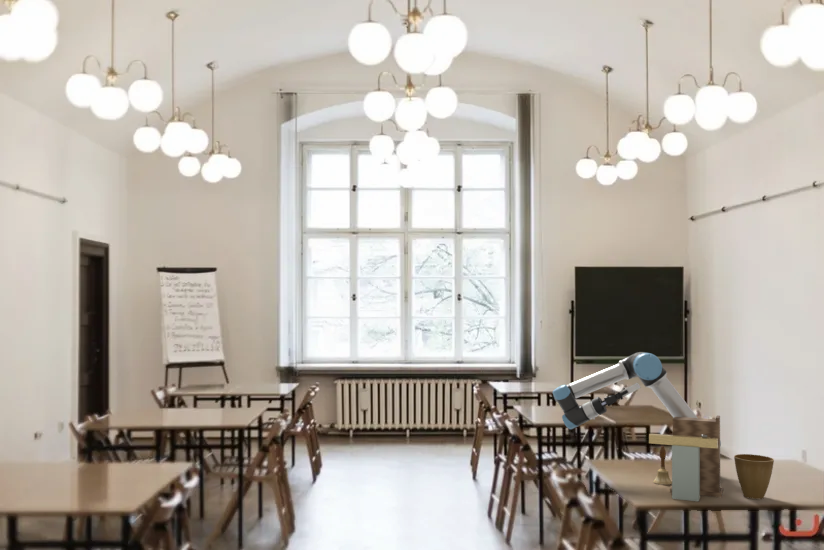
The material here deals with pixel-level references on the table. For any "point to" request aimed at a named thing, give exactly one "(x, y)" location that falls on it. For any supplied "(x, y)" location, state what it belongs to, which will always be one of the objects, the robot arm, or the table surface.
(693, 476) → the grey block
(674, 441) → the brass bar
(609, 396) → the robot arm
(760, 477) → the plant pot
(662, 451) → the hand bell
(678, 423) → the walnut stand
